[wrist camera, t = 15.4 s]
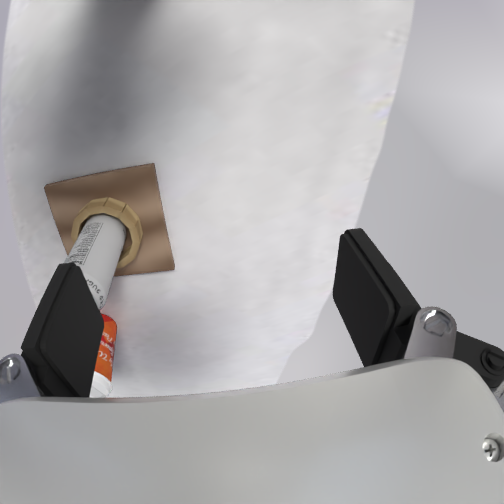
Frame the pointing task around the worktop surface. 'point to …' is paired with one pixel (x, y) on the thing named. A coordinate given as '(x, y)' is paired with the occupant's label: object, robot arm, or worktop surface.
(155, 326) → the worktop surface
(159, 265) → the ring stand
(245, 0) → the worktop surface
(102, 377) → the paper cup
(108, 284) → the energy drink can
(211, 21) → the worktop surface
